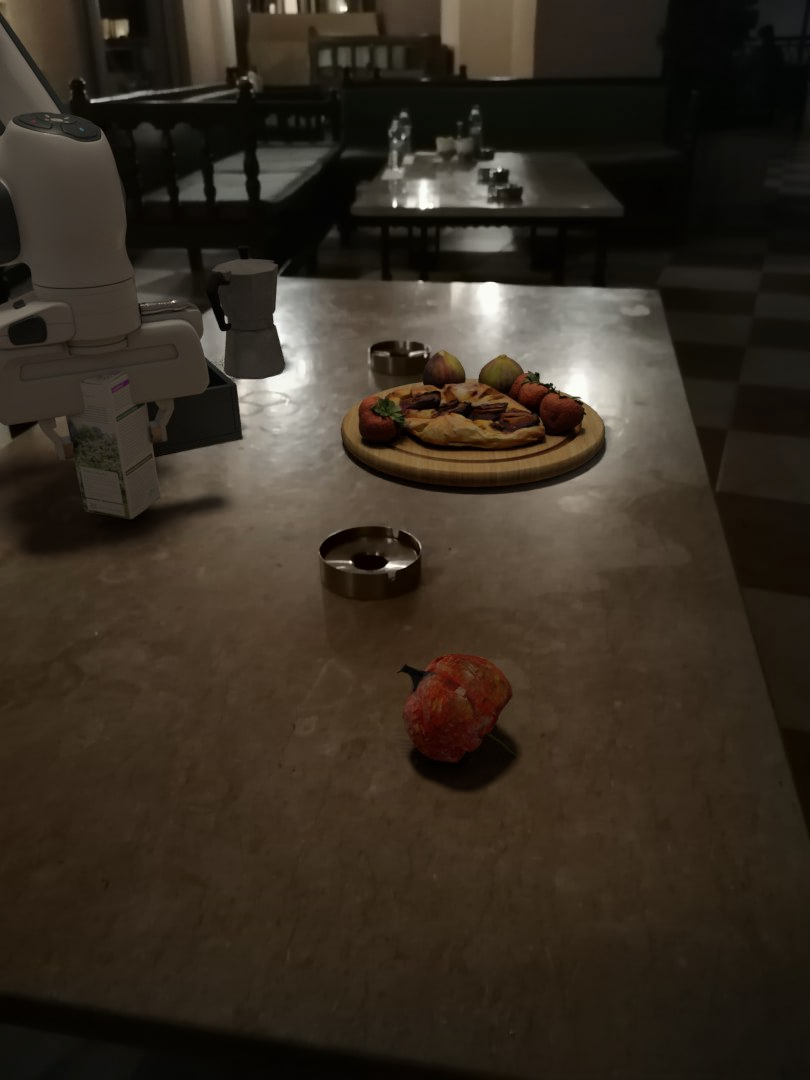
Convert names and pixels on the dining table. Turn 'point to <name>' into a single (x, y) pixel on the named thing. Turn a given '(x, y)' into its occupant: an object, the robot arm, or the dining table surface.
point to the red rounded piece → (454, 705)
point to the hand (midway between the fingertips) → (112, 448)
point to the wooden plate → (473, 427)
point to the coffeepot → (247, 315)
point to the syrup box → (113, 449)
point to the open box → (202, 416)
